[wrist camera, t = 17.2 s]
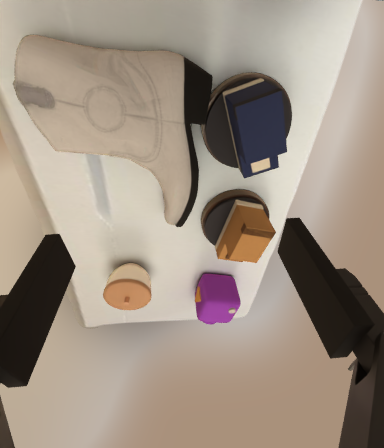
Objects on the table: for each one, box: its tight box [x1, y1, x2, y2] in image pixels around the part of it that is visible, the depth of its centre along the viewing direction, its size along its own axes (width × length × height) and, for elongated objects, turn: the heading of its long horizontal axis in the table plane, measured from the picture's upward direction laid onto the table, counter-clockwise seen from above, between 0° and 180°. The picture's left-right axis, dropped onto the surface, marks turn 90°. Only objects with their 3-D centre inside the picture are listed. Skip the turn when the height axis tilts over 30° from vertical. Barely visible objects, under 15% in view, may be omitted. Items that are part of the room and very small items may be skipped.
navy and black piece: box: [205, 78, 292, 178], centre depth 35 cm, size 14×14×9 cm
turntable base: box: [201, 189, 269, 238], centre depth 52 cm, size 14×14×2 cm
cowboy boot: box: [13, 35, 212, 227], centre depth 37 cm, size 10×28×25 cm
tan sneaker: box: [204, 197, 276, 263], centre depth 47 cm, size 14×14×9 cm
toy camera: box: [195, 274, 240, 324], centre depth 63 cm, size 11×14×10 cm
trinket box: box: [103, 263, 151, 310], centre depth 57 cm, size 11×11×9 cm
